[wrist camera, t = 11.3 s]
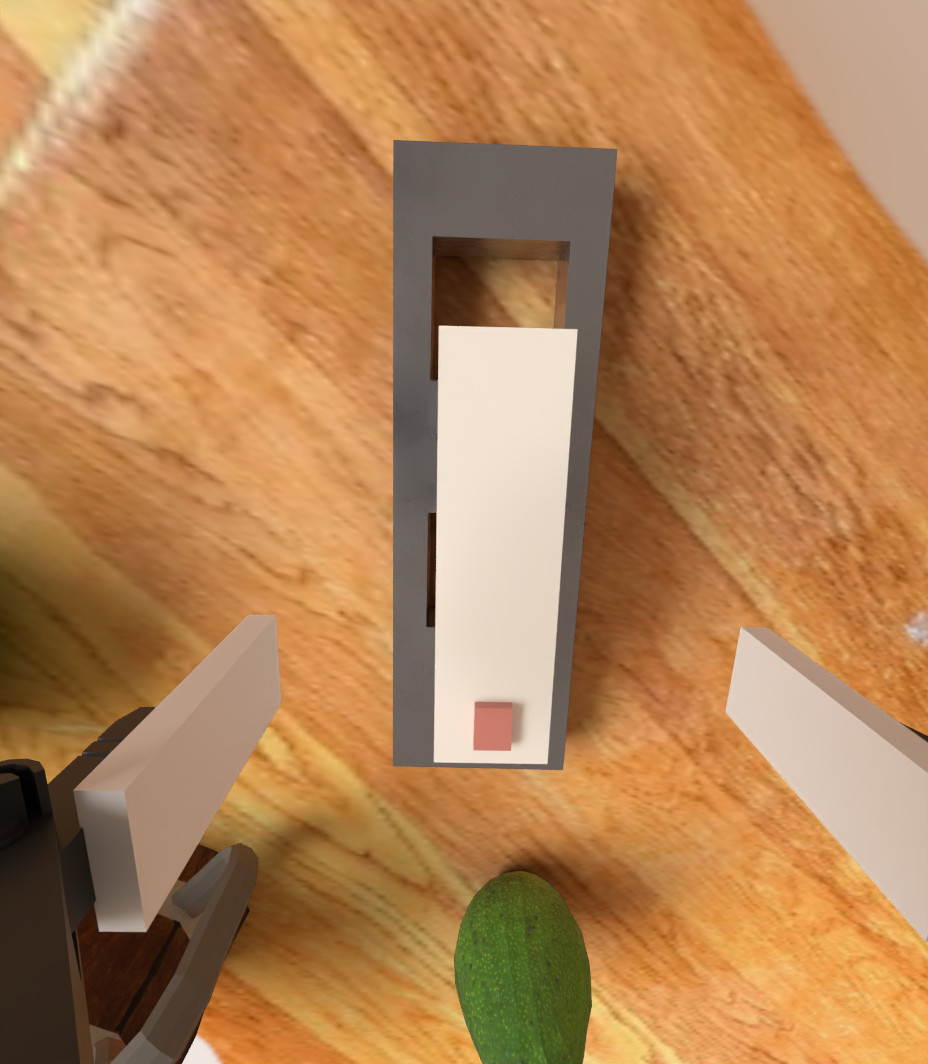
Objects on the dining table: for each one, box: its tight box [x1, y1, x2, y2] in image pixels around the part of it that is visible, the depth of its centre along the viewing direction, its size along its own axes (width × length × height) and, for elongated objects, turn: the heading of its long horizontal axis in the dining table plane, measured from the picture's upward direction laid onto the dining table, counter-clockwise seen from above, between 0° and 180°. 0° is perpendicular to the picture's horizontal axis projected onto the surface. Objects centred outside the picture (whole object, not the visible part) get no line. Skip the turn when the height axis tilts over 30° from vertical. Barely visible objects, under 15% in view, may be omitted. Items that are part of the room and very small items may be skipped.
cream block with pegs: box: [434, 326, 578, 764], centre depth 25 cm, size 18×5×10 cm, turn 179°
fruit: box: [454, 871, 592, 1064], centre depth 30 cm, size 8×8×12 cm
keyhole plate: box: [393, 140, 617, 770], centre depth 28 cm, size 32×10×3 cm, turn 178°
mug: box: [76, 843, 258, 1064], centre depth 28 cm, size 20×14×15 cm
